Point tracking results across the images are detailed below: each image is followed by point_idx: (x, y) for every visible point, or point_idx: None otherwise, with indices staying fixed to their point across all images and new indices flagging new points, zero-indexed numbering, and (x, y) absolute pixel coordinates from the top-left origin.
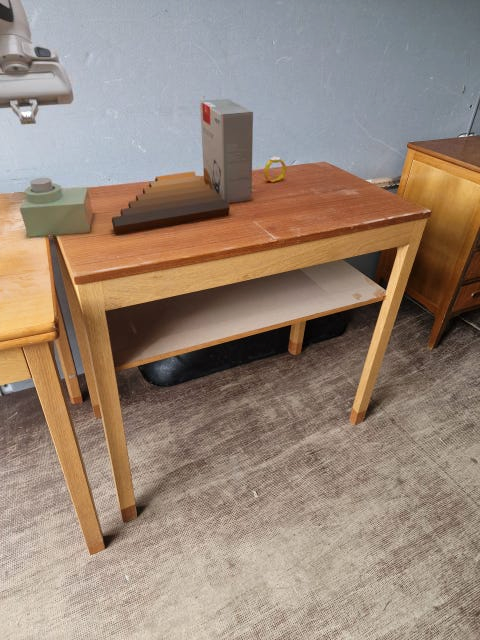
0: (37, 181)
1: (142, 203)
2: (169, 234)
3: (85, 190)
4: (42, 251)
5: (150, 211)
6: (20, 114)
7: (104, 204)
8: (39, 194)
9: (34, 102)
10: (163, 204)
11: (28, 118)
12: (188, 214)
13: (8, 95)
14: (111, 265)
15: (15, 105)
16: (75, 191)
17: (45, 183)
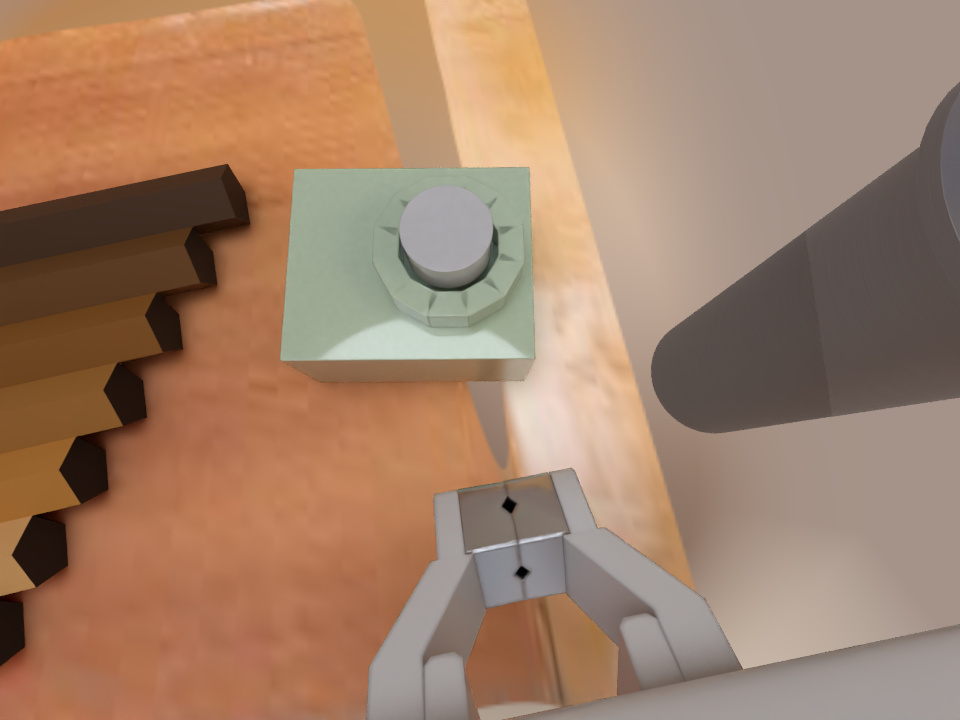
0: (459, 219)
1: (100, 316)
2: (81, 168)
3: (287, 311)
4: (459, 124)
5: (81, 207)
6: (570, 507)
7: (274, 479)
8: (451, 178)
9: (399, 674)
10: (21, 277)
11: (492, 488)
12: None
13: (778, 696)
14: (268, 20)
15: (643, 600)
16: (330, 307)
17: (420, 193)
